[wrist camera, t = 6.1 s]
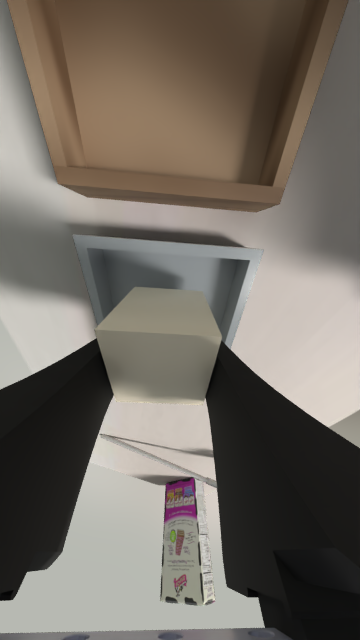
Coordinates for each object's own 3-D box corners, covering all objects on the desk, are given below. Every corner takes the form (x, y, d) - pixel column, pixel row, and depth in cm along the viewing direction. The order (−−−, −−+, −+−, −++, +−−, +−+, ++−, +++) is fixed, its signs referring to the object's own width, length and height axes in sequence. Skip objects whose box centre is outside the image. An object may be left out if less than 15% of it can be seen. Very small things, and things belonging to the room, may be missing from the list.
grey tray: (216, 355, 15) (222, 373, 13) (119, 350, 15) (109, 368, 13) (246, 247, 10) (263, 249, 8) (95, 235, 10) (72, 234, 7)
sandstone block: (194, 342, 12) (202, 405, 7) (140, 339, 11) (115, 401, 7) (202, 291, 9) (222, 336, 5) (135, 286, 9) (94, 329, 5)
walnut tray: (256, 212, 9) (279, 203, 7) (87, 197, 9) (57, 183, 6) (403, -317, 3) (729, -1126, 1) (-41, -422, 3) (-477, -1739, 1)
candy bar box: (175, 486, 45) (173, 598, 31) (165, 482, 43) (158, 602, 29) (204, 480, 42) (216, 604, 27) (194, 476, 40) (202, 608, 25)
